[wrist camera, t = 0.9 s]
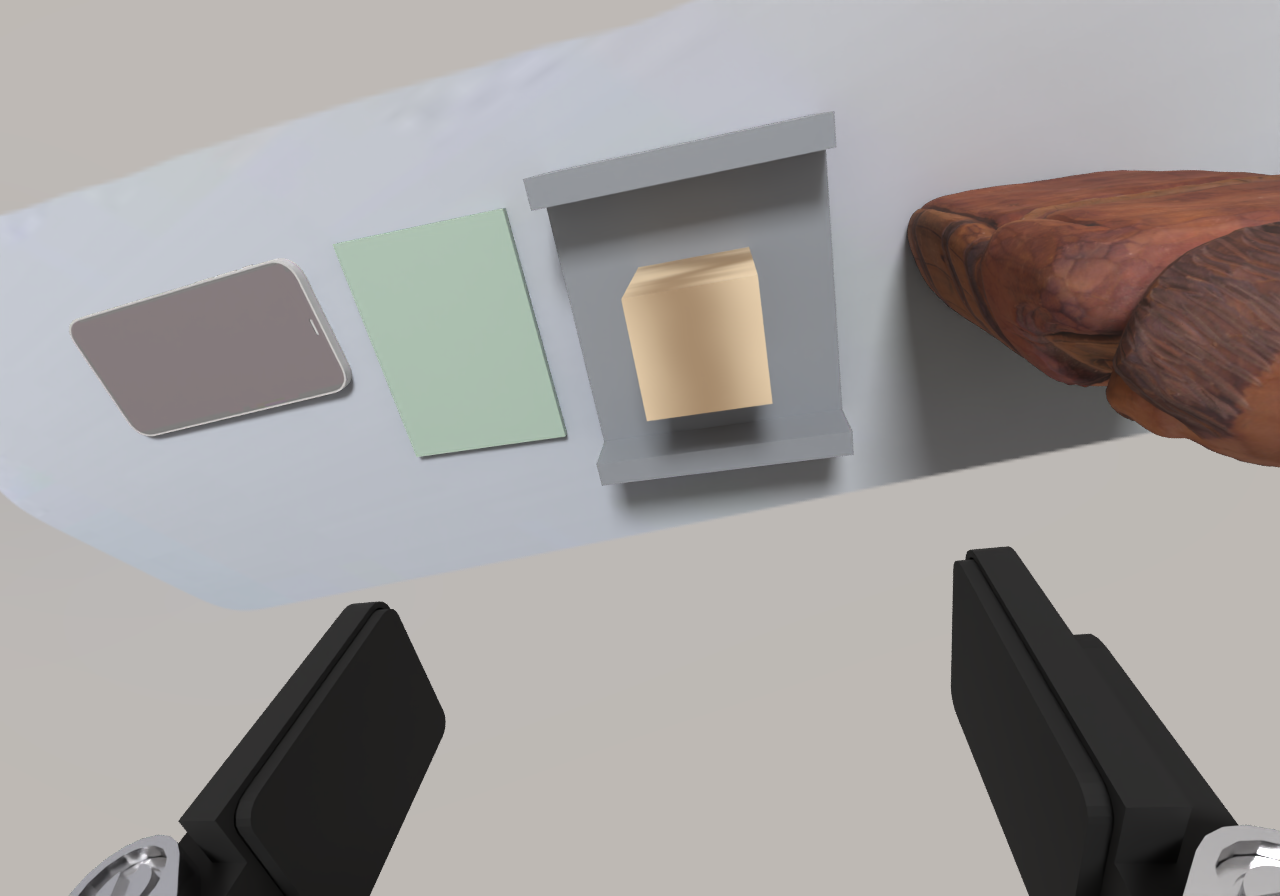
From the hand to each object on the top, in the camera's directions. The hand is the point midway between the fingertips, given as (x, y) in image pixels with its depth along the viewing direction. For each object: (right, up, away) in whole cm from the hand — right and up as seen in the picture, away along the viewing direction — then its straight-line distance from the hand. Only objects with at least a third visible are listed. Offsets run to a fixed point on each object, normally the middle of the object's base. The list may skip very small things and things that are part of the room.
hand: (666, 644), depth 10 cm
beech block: (+2, +10, +19) cm, 21 cm away
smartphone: (-24, +9, +25) cm, 36 cm away
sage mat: (-10, +9, +23) cm, 26 cm away
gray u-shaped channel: (+3, +11, +20) cm, 23 cm away
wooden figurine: (+17, +13, +18) cm, 28 cm away
